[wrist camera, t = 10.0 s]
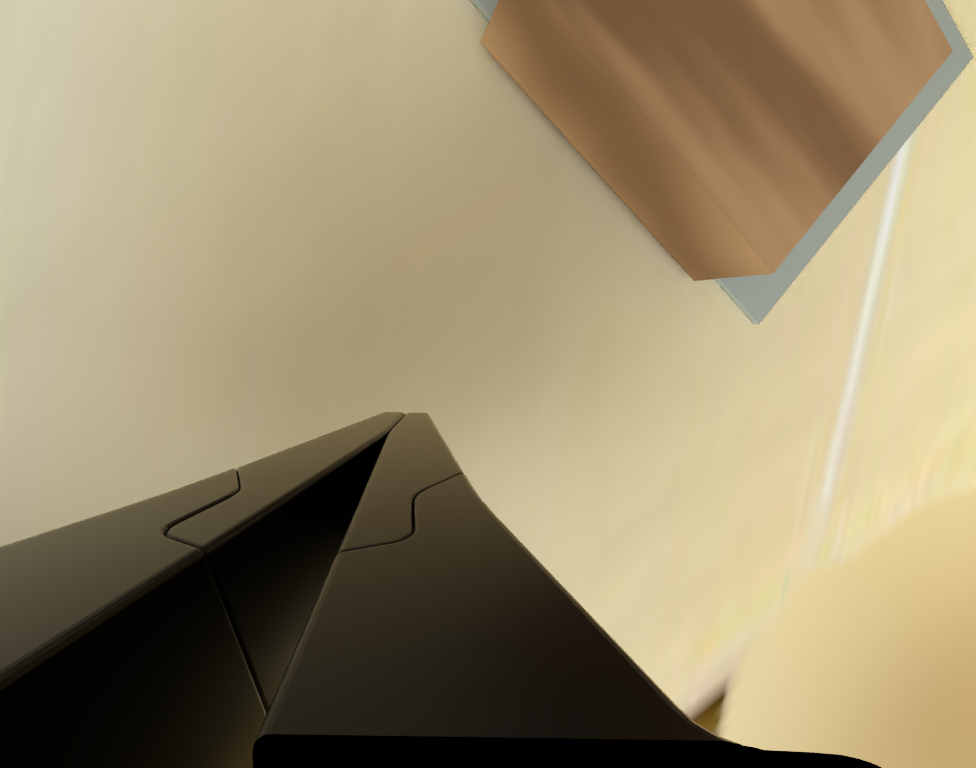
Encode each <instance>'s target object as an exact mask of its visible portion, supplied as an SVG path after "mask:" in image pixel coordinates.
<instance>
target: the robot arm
mask: <svg viewBox="0 0 976 768" xmlns="http://www.w3.org/2000/svg"><path fill="white" fill-rule="evenodd" d="M0 768H881V767H879V766H877V765H875V764H872V763H869V762H866V761H863V760H860V759H856V758H852V757H848V756H843V755H835V754H834V755H833V754H823V753H809V752H789V751H768V750H761V749H758V748H754V747H747V746H742V745H740V744H737V743H735V742H732V741H730V740H727V739H724V738H722V737H719V736H717V735H716V734H714V733H712V732H711V731H709V730H707V729H706V728H704V727H702V726H701V725H699V724H697V723H696V722H694V721H693V720H692V719H691V718H690V717H689V716H687V715H686V714H685V713H684V712H683V711H682V710H681V709H679V708H678V707H677V706H676V705H675V704H674V703H673V701H672V700H671V699H670V698H669V697H668V696H667V695H666V694H665V693H664V692H663V691H662V690H661V689H660V688H659V687H658V686H657V685H656V684H655V683H654V682H653V680H652V679H651V678H650V677H649V676H648V675H647V674H646V673H645V672H644V671H643V670H642V669H641V668H640V667H639V666H638V665H637V664H636V663H635V662H634V661H633V659H632V658H631V657H630V656H629V655H628V654H627V653H626V652H625V651H624V650H623V649H622V648H621V647H620V646H619V645H618V644H617V643H616V642H615V641H614V640H613V638H612V637H611V636H610V635H609V634H608V633H607V632H606V631H605V630H604V629H603V628H602V627H601V626H600V625H599V624H598V623H597V622H596V621H595V620H594V619H593V617H592V616H591V615H590V614H589V613H588V612H587V611H586V610H585V609H584V608H583V607H582V606H581V605H580V604H579V603H578V602H577V601H576V600H575V599H574V598H573V596H572V595H571V594H570V593H569V592H568V591H567V590H566V589H565V588H564V587H563V586H562V585H561V584H560V583H559V582H558V581H557V580H556V579H555V578H554V577H553V575H552V574H551V573H550V572H549V571H548V570H547V569H546V568H545V567H544V566H543V565H542V564H541V563H540V562H539V561H538V560H537V559H536V558H535V557H534V556H533V554H532V553H531V552H530V551H529V550H528V549H527V548H526V547H525V546H524V545H523V544H522V543H521V542H520V541H519V540H518V539H517V538H516V537H515V536H514V535H513V533H512V532H511V531H510V530H509V529H508V528H507V527H506V526H505V525H504V524H503V523H502V522H501V521H500V520H499V519H498V518H497V517H496V516H495V515H494V513H493V512H492V511H491V510H490V509H489V508H488V507H487V505H486V504H485V503H484V502H483V501H482V500H481V498H480V497H479V495H478V494H477V493H476V491H475V490H474V488H473V487H472V485H471V484H470V482H469V480H468V479H467V477H466V476H465V475H464V473H463V472H462V470H461V468H460V467H459V465H458V463H457V461H456V460H455V458H454V456H453V455H452V453H451V451H450V450H449V448H448V446H447V445H446V443H445V441H444V440H443V438H442V436H441V435H440V433H439V431H438V430H437V428H436V426H435V425H434V423H433V421H432V420H431V418H430V416H429V415H428V414H427V413H408V414H404V413H402V412H385V413H382V414H379V415H377V416H374V417H371V418H369V419H366V420H363V421H361V422H358V423H355V424H353V425H350V426H347V427H345V428H342V429H339V430H337V431H334V432H332V433H329V434H326V435H324V436H321V437H318V438H316V439H313V440H310V441H308V442H305V443H302V444H300V445H297V446H294V447H292V448H289V449H286V450H284V451H281V452H279V453H276V454H273V455H271V456H268V457H265V458H263V459H260V460H257V461H255V462H252V463H249V464H247V465H244V466H241V467H239V468H238V469H237V471H236V469H231V470H228V471H226V472H223V473H220V474H218V475H215V476H212V477H210V478H207V479H204V480H201V481H198V482H196V483H193V484H190V485H187V486H185V487H182V488H179V489H176V490H173V491H170V492H167V493H164V494H161V495H158V496H155V497H152V498H149V499H147V500H144V501H141V502H138V503H135V504H132V505H129V506H126V507H122V508H119V509H116V510H113V511H110V512H107V513H104V514H101V515H98V516H95V517H92V518H89V519H85V520H82V521H79V522H76V523H73V524H70V525H67V526H64V527H61V528H58V529H55V530H52V531H48V532H45V533H42V534H39V535H36V536H33V537H30V538H27V539H24V540H21V541H18V542H15V543H12V544H8V545H5V546H2V547H0Z"/></svg>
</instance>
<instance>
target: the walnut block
mask: <svg viewBox="0 0 976 768" xmlns="http://www.w3.org/2000/svg"><path fill="white" fill-rule="evenodd" d="M481 43H482V44H483V46H484V47H485V48H486V49H487V50H488V51H489V52H490V53H491V54H492V56H493V57H494V58H495V59H496V60H497V61H498V62H499V63H500V65H501V66H502V67H503V68H504V69H505V70H506V71H507V72H508V73H509V75H510V76H511V77H512V78H513V79H514V80H515V81H516V82H517V84H518V85H519V86H520V87H521V88H522V89H523V90H524V91H525V92H526V94H527V95H528V96H529V97H530V98H531V99H532V100H533V101H534V103H535V104H536V105H537V106H538V107H539V108H540V109H541V110H542V111H543V113H544V114H545V115H546V116H547V117H548V118H549V119H550V120H551V122H552V123H553V124H554V125H555V126H556V127H557V128H558V129H559V130H560V132H561V133H562V134H563V135H564V136H565V137H566V138H567V139H568V141H569V142H570V143H571V144H572V145H573V146H574V147H575V148H576V149H577V151H578V152H579V153H580V154H581V155H582V156H583V157H584V158H585V160H586V161H587V162H588V163H589V164H590V165H591V166H592V167H593V168H594V170H595V171H596V172H597V173H598V174H599V175H600V176H601V177H602V179H603V180H604V181H605V182H606V183H607V184H608V185H609V186H610V187H611V189H612V190H613V191H614V192H615V193H616V194H617V195H618V196H619V198H620V199H621V200H622V201H623V202H624V203H625V204H626V205H627V207H628V208H629V209H630V210H631V211H632V212H633V213H634V214H635V215H636V217H637V218H638V219H639V220H640V221H641V222H642V223H643V224H644V226H645V227H646V228H647V229H648V230H649V231H650V232H651V233H652V234H653V236H654V237H655V238H656V239H657V240H658V241H659V242H660V243H661V245H662V246H663V247H664V248H665V249H666V250H667V251H668V252H669V253H670V255H671V256H672V257H673V258H674V259H675V260H676V261H677V262H678V264H679V265H680V266H681V267H682V268H683V269H684V270H685V271H686V272H687V274H688V275H689V276H690V277H691V278H692V279H693V280H694V281H696V280H708V279H720V278H731V277H743V276H754V275H766V274H773V273H774V272H775V271H776V269H777V268H778V267H779V266H780V264H781V263H782V262H783V261H784V260H785V258H786V257H787V256H788V255H789V253H790V252H791V251H792V250H793V248H794V247H795V246H796V245H797V243H798V242H799V241H800V240H801V238H802V237H803V236H804V235H805V233H806V232H807V231H808V230H809V229H810V227H811V226H812V225H813V224H814V222H815V221H816V220H817V219H818V217H819V216H820V215H821V214H822V212H823V211H824V210H825V209H826V207H827V206H828V205H829V204H830V203H831V201H832V200H833V199H834V198H835V196H836V195H837V194H838V193H839V191H840V190H841V189H842V188H843V186H844V185H845V184H846V183H847V181H848V180H849V179H850V178H851V176H852V175H853V174H854V173H855V172H856V170H857V169H858V168H859V167H860V165H861V164H862V163H863V162H864V160H865V159H866V158H867V157H868V155H869V154H870V153H871V152H872V150H873V149H874V148H875V147H876V146H877V144H878V143H879V142H880V141H881V139H882V138H883V137H884V136H885V134H886V133H887V132H888V131H889V129H890V128H891V127H892V126H893V124H894V123H895V122H896V121H897V119H898V118H899V117H900V116H901V115H902V113H903V112H904V111H905V110H906V108H907V107H908V106H909V105H910V103H911V102H912V101H913V100H914V98H915V97H916V96H917V95H918V93H919V92H920V91H921V90H922V89H923V87H924V86H925V85H926V84H927V82H928V81H929V80H930V79H931V77H932V76H933V75H934V74H935V72H936V71H937V70H938V69H939V67H940V66H941V65H942V64H943V62H944V61H945V60H946V59H947V58H948V56H949V55H950V54H951V53H952V51H953V50H952V48H951V46H950V45H949V43H948V41H947V39H946V37H945V36H944V34H943V32H942V30H941V28H940V27H939V25H938V23H937V21H936V19H935V18H934V16H933V14H932V12H931V10H930V9H929V7H928V5H927V3H926V1H925V0H498V2H497V5H496V7H495V9H494V12H493V14H492V17H491V19H490V21H489V24H488V26H487V29H486V31H485V33H484V36H483V38H482V41H481Z"/></svg>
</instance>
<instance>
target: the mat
mask: <svg viewBox="0 0 976 768" xmlns="http://www.w3.org/2000/svg"><path fill="white" fill-rule="evenodd" d="M470 1H471V2H472V3H473V4H474V5H475V6H476V8H477V9H478V10H479V11H480V12H481V13H482V14H483V16H484V17H485V18H486V19H487V20H488V21H490V19H491V17H492V14H493V12H494V9H495V7H496V5H497V2H498V0H470ZM925 1H926V3H927V5H928V7H929V9H930V10H931V12H932V14H933V16H934V18H935V19H936V21H937V23H938V25H939V27H940V28H941V30H942V32H943V34H944V36H945V37H946V39H947V41H948V43H949V45H950V46H951V48H952V50H953V51H952V53H951V54H950V55H949V56H948V58H947V59H946V60H945V61H944V62H943V64H942V65H941V66H940V67H939V69H938V70H937V71H936V72H935V74H934V75H933V76H932V77H931V79H930V80H929V81H928V82H927V84H926V85H925V86H924V87H923V89H922V90H921V91H920V92H919V93H918V95H917V96H916V97H915V98H914V100H913V101H912V102H911V103H910V105H909V106H908V107H907V108H906V110H905V111H904V112H903V113H902V115H901V116H900V117H899V118H898V119H897V121H896V122H895V123H894V124H893V126H892V127H891V128H890V129H889V131H888V132H887V133H886V134H885V136H884V137H883V138H882V139H881V141H880V142H879V143H878V144H877V146H876V147H875V148H874V149H873V150H872V152H871V153H870V154H869V155H868V157H867V158H866V159H865V160H864V162H863V163H862V164H861V165H860V167H859V168H858V169H857V170H856V172H855V173H854V174H853V175H852V176H851V178H850V179H849V180H848V181H847V183H846V184H845V185H844V186H843V188H842V189H841V190H840V191H839V193H838V194H837V195H836V196H835V198H834V199H833V200H832V201H831V203H830V204H829V205H828V206H827V207H826V209H825V210H824V211H823V212H822V214H821V215H820V216H819V217H818V219H817V220H816V221H815V222H814V224H813V225H812V226H811V227H810V229H809V230H808V231H807V232H806V233H805V235H804V236H803V237H802V238H801V240H800V241H799V242H798V243H797V245H796V246H795V247H794V248H793V250H792V251H791V252H790V253H789V255H788V256H787V257H786V258H785V260H784V261H783V262H782V263H781V264H780V266H779V267H778V268H777V269H776V271H775V272H774V273H773V274H766V275H754V276H743V277H731V278H720V279H715V280H716V281H717V282H718V284H719V285H720V286H721V287H722V288H723V289H724V290H725V292H726V293H727V294H728V295H729V296H730V297H731V298H732V300H733V301H734V302H735V303H736V304H737V305H738V306H739V308H740V309H741V310H742V311H743V312H744V313H745V314H746V316H747V317H748V318H749V319H750V320H751V321H752V322H753V323H754V324H760V322H761V321H762V320H763V319H764V317H765V316H766V315H767V314H768V312H769V311H770V310H771V309H772V307H773V306H774V305H775V304H776V302H777V301H778V300H779V299H780V297H781V296H782V295H783V294H784V293H785V291H786V290H787V289H788V288H789V286H790V285H791V284H792V283H793V281H794V280H795V279H796V278H797V276H798V275H799V274H800V273H801V271H802V270H803V269H804V268H805V266H806V265H807V264H808V263H809V261H810V260H811V259H812V258H813V256H814V255H815V254H816V253H817V251H818V250H819V249H820V248H821V246H822V245H823V244H824V243H825V241H826V240H827V239H828V238H829V236H830V235H831V234H832V233H833V231H834V230H835V229H836V228H837V227H838V225H839V224H840V223H841V222H842V220H843V219H844V218H845V217H846V215H847V214H848V213H849V212H850V210H851V209H852V208H853V207H854V205H855V204H856V203H857V202H858V200H859V199H860V198H861V197H862V195H863V194H864V193H865V192H866V190H867V189H868V188H869V187H870V185H871V184H872V183H873V182H874V180H875V179H876V178H877V177H878V175H879V174H880V173H881V172H882V170H883V169H884V168H885V167H886V165H887V164H888V163H889V162H890V160H891V159H892V158H893V157H894V156H895V154H896V153H897V152H898V151H899V149H900V148H901V147H902V146H903V144H904V143H905V142H906V141H907V139H908V138H909V137H910V136H911V134H912V133H913V132H914V131H915V129H916V128H917V127H918V126H919V124H920V123H921V122H922V121H923V119H924V118H925V117H926V116H927V114H928V113H929V112H930V111H931V109H932V108H933V107H934V106H935V104H936V103H937V102H938V101H939V99H940V98H941V97H942V96H943V94H944V93H945V92H946V91H947V90H948V88H949V87H950V86H951V85H952V83H953V82H954V81H955V80H956V78H957V77H958V76H959V75H960V73H961V72H962V71H963V70H964V68H965V67H966V66H967V65H968V63H969V62H970V61H971V60H972V58H973V56H972V54H971V52H970V50H969V48H968V47H967V45H966V43H965V41H964V39H963V37H962V36H961V34H960V32H959V30H958V28H957V26H956V24H955V23H954V21H953V19H952V17H951V15H950V13H949V12H948V10H947V8H946V6H945V4H944V2H943V1H942V0H925Z"/></svg>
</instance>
